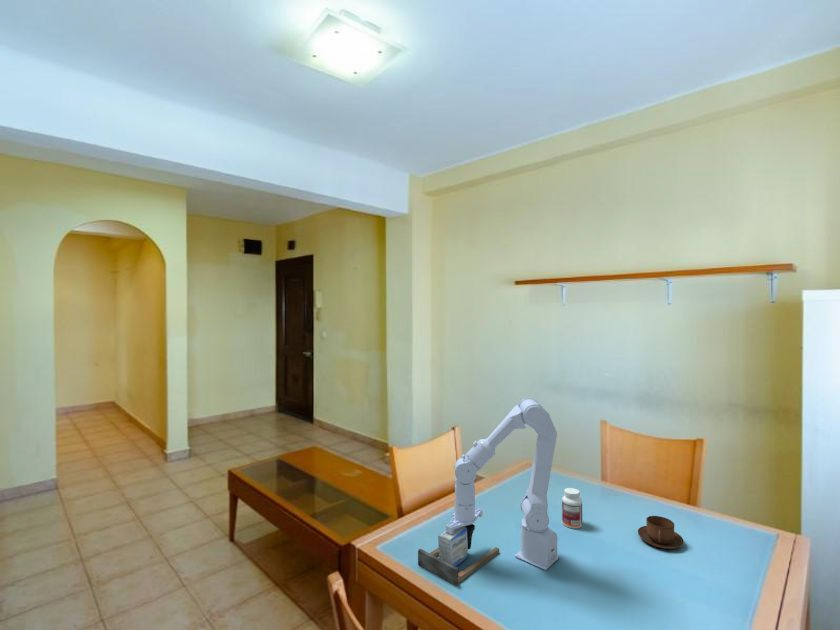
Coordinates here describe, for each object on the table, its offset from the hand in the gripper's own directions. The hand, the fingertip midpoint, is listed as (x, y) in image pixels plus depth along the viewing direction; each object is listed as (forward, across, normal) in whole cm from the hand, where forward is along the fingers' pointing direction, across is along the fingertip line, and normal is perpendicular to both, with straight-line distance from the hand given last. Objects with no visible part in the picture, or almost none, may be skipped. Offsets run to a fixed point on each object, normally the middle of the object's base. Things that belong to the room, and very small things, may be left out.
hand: (464, 549), depth 123 cm
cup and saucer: (+2, -46, +39) cm, 60 cm away
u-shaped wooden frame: (+2, +3, 0) cm, 3 cm away
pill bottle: (+2, -37, +15) cm, 40 cm away
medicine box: (+2, +5, 0) cm, 5 cm away
